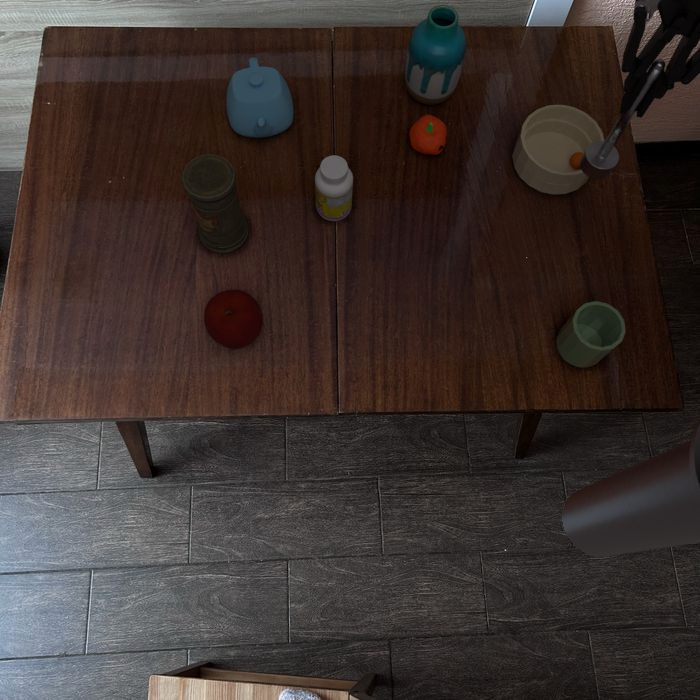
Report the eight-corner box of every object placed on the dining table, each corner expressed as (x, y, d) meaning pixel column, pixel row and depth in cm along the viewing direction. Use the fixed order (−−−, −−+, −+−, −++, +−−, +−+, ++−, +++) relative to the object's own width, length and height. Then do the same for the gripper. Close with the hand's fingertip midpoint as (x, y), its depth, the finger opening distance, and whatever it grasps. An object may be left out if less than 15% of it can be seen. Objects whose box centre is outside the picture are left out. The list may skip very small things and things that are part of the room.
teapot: (226, 128, 121) (216, 47, 127) (234, 164, 131) (224, 87, 137) (298, 120, 122) (285, 39, 128) (300, 156, 132) (288, 80, 138)
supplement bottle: (315, 192, 129) (313, 150, 117) (350, 190, 130) (352, 148, 117) (316, 223, 127) (315, 184, 115) (352, 222, 127) (355, 182, 115)
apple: (230, 297, 122) (222, 271, 112) (276, 323, 120) (272, 299, 111) (199, 340, 119) (188, 318, 109) (246, 367, 117) (239, 347, 108)
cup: (602, 372, 119) (623, 355, 110) (552, 361, 119) (569, 343, 111) (607, 328, 122) (628, 308, 113) (559, 317, 122) (576, 296, 114)
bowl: (585, 203, 130) (599, 182, 123) (506, 186, 131) (515, 164, 124) (595, 137, 135) (608, 114, 129) (518, 121, 136) (527, 97, 129)
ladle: (610, 182, 109) (680, 81, 88) (577, 175, 109) (639, 72, 88) (613, 155, 111) (683, 49, 89) (581, 148, 111) (642, 41, 89)
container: (226, 201, 128) (211, 141, 111) (259, 232, 126) (248, 176, 109) (189, 231, 126) (167, 174, 109) (221, 263, 124) (204, 210, 107)
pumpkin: (443, 126, 135) (449, 104, 129) (446, 161, 132) (452, 140, 126) (407, 126, 135) (410, 104, 129) (409, 161, 132) (413, 140, 126)
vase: (398, 72, 139) (408, -6, 121) (450, 69, 140) (468, -10, 122) (405, 116, 136) (417, 42, 118) (459, 112, 136) (478, 38, 118)
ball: (582, 173, 132) (587, 163, 129) (566, 169, 132) (571, 160, 129) (584, 160, 133) (589, 150, 130) (568, 156, 133) (574, 147, 130)
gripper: (790, -48, 76) (685, 97, 98) (657, -75, 76) (583, 75, 99) (789, 3, 73) (682, 140, 96) (651, -24, 74) (576, 118, 96)
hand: (631, 107), depth 97 cm, fingers closed on ladle, 2 cm apart
